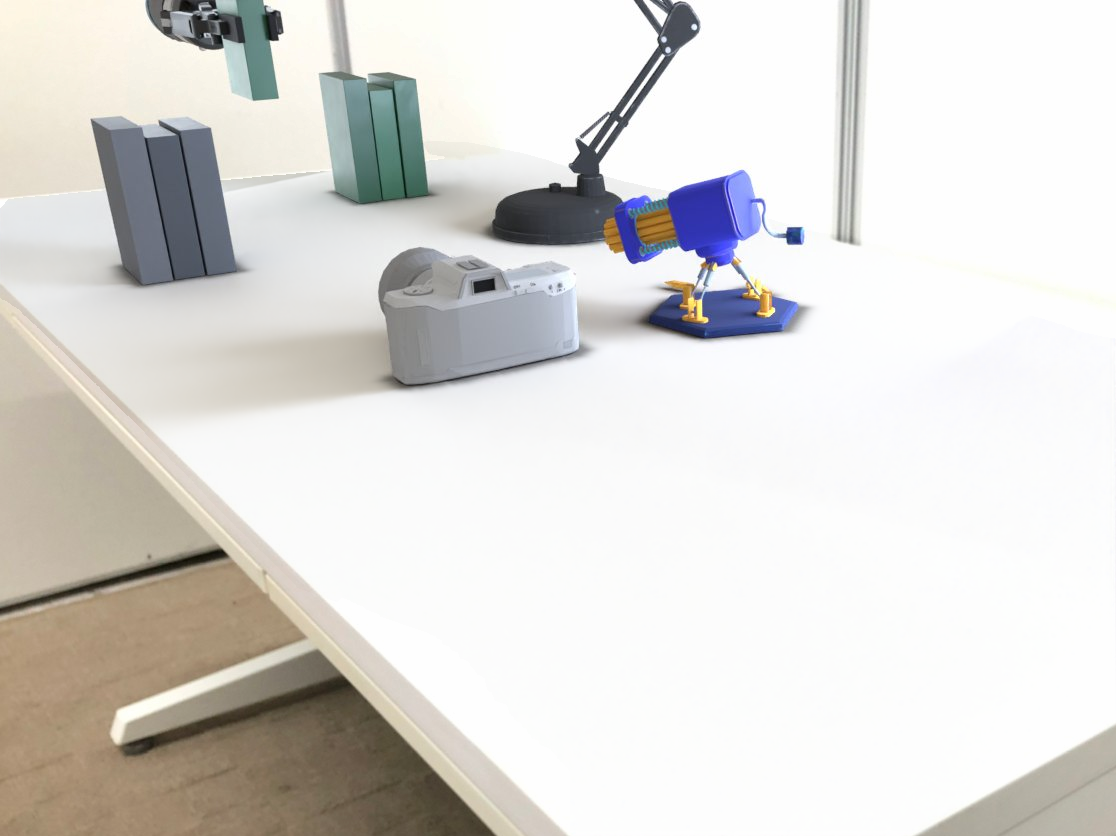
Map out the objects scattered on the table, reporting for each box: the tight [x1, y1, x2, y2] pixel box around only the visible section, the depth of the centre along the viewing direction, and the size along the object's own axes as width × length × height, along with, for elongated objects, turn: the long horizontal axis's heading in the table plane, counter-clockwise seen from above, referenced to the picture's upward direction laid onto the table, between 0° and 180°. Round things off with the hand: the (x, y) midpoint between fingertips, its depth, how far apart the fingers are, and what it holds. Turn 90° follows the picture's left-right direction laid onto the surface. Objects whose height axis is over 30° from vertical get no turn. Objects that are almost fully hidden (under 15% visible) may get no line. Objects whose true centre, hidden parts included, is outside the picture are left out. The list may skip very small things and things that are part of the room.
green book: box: [216, 0, 280, 102], centre depth 151 cm, size 9×3×14 cm, turn 34°
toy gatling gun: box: [604, 169, 805, 339], centre depth 116 cm, size 14×18×13 cm
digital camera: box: [377, 246, 580, 385], centre depth 107 cm, size 17×14×10 cm
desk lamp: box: [491, 0, 702, 245], centre depth 139 cm, size 24×26×45 cm
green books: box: [318, 71, 429, 204], centre depth 164 cm, size 9×9×14 cm
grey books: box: [90, 115, 238, 286], centre depth 130 cm, size 9×9×15 cm
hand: (257, 29), depth 147 cm, fingers closed on green book, 3 cm apart
